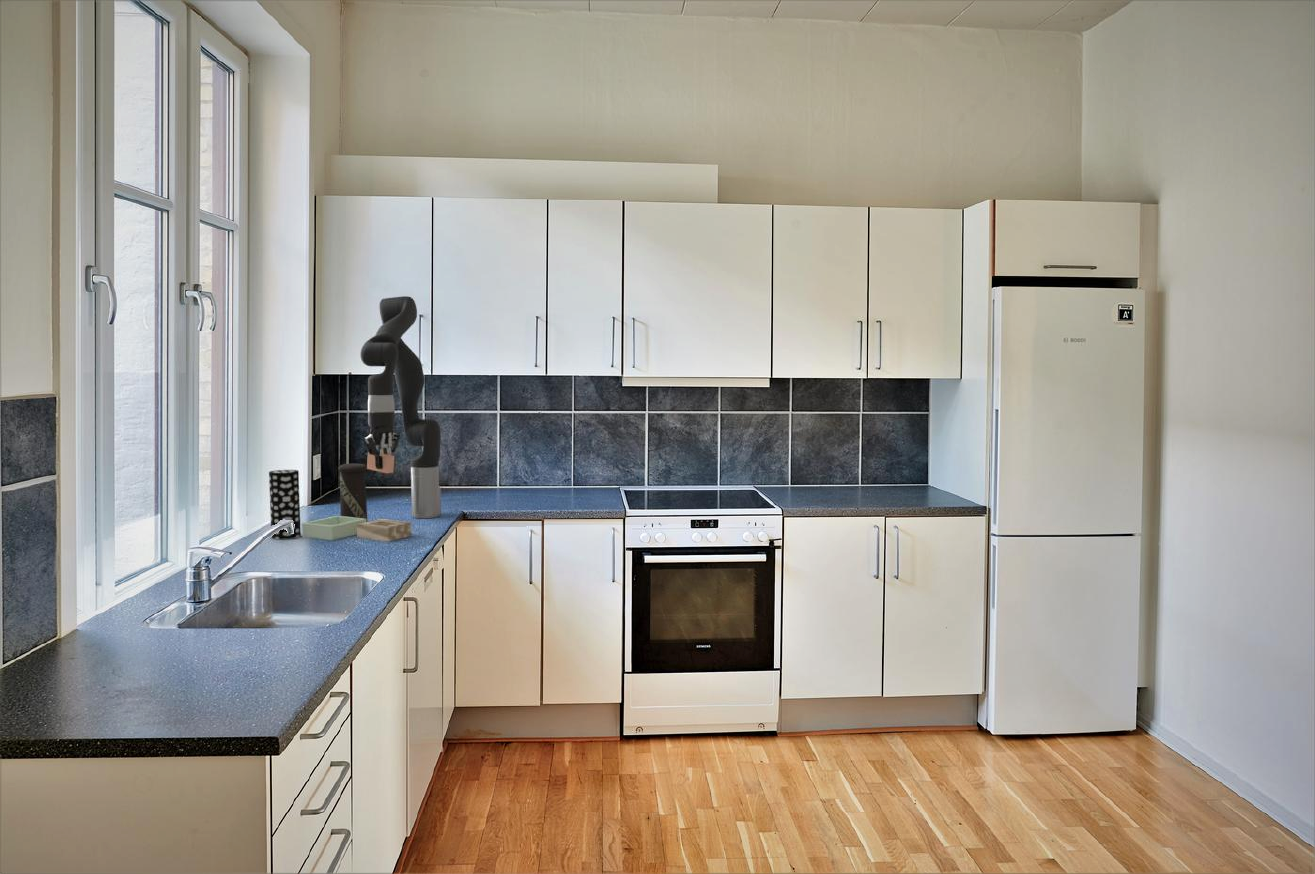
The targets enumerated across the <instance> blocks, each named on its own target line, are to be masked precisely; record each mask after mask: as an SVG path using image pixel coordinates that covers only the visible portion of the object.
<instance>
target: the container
mask: <svg viewBox="0 0 1315 874" xmlns="http://www.w3.org/2000/svg"><path fill="white" fill-rule="evenodd" d="M337 469H338V472H339V488H340V490H339V492H340V495H339V496H340V516H345V517H354V518H363V519H366V522H368V505H367V504H368V503H367V487H366V470H367V465H365V464H364V463H353V462H352V463H346V464H345V463H344V464H341V465H339V466H338V468H337Z"/></svg>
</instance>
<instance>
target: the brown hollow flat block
mask: <svg viewBox="0 0 1315 874" xmlns="http://www.w3.org/2000/svg"><path fill="white" fill-rule="evenodd" d="M356 536H357V539H365V540H373V541H382V542H392V541H395V540H399V539H403V538H407V537H410V536H413V535H412V522H411V521H406V520H405V521H404V520H395V519H387V518H385V519H384V518H379V519H375V520H371V521H367V522H365V523H361V524H357V534H356Z"/></svg>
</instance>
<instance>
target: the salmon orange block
mask: <svg viewBox="0 0 1315 874" xmlns="http://www.w3.org/2000/svg"><path fill="white" fill-rule="evenodd" d="M381 457H382V459H383V469H377V468H376V466H375V456H374V455H370V454H369V452H368V451H367V458H366V459H367V463H366V470H371V471H376V472H378V473H384V474H392V473H393V474H394V469H395V468H394V465H395V455H392V454H391V455H388V454H383V455H382V456H381Z"/></svg>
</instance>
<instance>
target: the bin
mask: <svg viewBox="0 0 1315 874" xmlns="http://www.w3.org/2000/svg"><path fill="white" fill-rule="evenodd" d="M365 522H366V519H363V518H354V517H345V516H341V515H335V516H329V517H325V518H320V519H315V520H311V521H307V522H302V523H301V531H302V533H301V535H302V539H304V538H312V539H320V540H328V541H334V540H338V539H344V538H347V537H350V536H352V537H353V536H355V535H356V536H357V524H361V523H365Z"/></svg>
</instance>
